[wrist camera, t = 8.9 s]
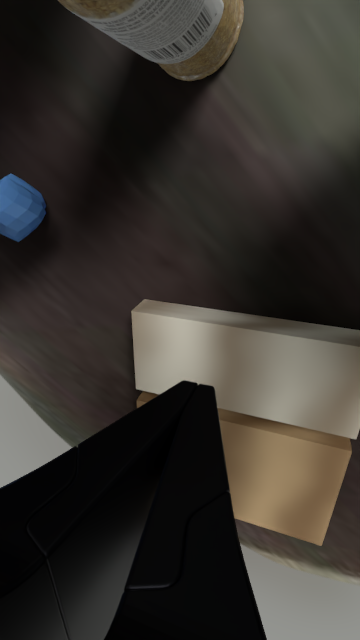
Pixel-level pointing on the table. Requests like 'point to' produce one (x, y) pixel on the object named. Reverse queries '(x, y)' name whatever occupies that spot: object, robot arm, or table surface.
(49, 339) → the table surface
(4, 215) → the grapes
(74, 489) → the robot arm
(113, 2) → the sprinkles bottle
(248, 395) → the ash board
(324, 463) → the oak plank
